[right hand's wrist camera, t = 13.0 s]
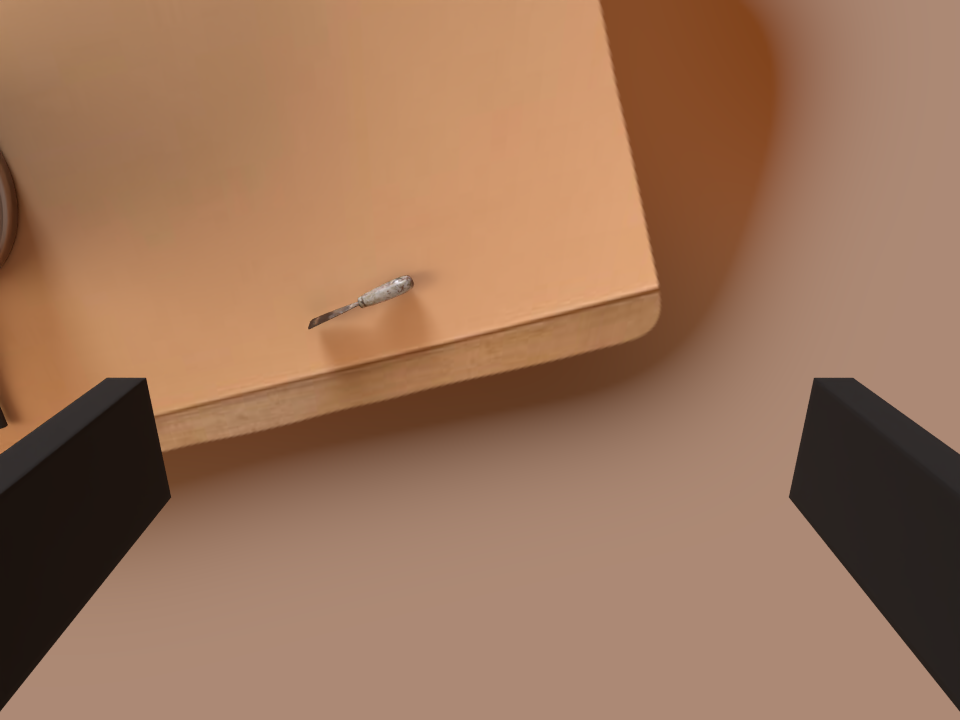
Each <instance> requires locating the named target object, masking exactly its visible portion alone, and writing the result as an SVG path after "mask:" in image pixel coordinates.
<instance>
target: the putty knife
mask: <svg viewBox="0 0 960 720" xmlns="http://www.w3.org/2000/svg"><path fill="white" fill-rule="evenodd" d="M413 285H414V283H413V280H412V279H411V277H410V276H408V275H407V276H402V277H399V278H396V279H394V280H392V281H389V282H387V283H385V284H383V285H381V286H379V287H377V288H375V289H373V290H371V291H369V292H368V293H366V294H364V295H362V296H361V297H359V298H358V302H356V303H353V304H351V305H348V306H345V307H342V308H339V309H337V310H334V311H332V312H329V313H326V314H324V315H321V316H319V317H317V318H314V319H313V320H311V321H310V324H309V327H308V329H311V328H313V327H315V326H317V325H319V324H321V323H323V322H325V321H328V320H330V319H332V318H334V317H336V316H338V315H340V314H342V313H344V312H346V311H348V310H350V309H352V308H354V307H356V306H358V305H359V306H360V307H361V308H364V307H367V306H371V305H374V304H377V303H380V302H383V301H386V300H389V299H391V298H394V297H396V296H399V295H401V294H403V293H405V292H407V291H409V290H410V289H412V288H413Z"/></svg>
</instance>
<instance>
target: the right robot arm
mask: <svg viewBox="0 0 960 720" xmlns="http://www.w3.org/2000/svg"><path fill="white" fill-rule="evenodd" d="M17 223H18V206H17V197H16V192H15V187H14V183H13V180H12V177H11V174H10V171H9V169H8V166H7V164H6V161H5V159H4V157H3V155H2V153H1V151H0V268H1V267H2V265H3V264H4V262H5V261H6V259H7V258H8V255H9V253H10V251H11V249H12V246H13V243H14V240H15V236H16V231H17ZM7 425H8V424H7V422H6V420H5V417H4V415H3V412H2V410H1V408H0V429H1V428H4V427H6V426H7ZM170 498H171V495H170V490H169V485H168V480H167V476H166V471H165V466H164V461H163V457H162V452H161V447H160V442H159V437H158V433H157V428H156V423H155V418H154V414H153V409H152V404H151V399H150V395H149V390H148V385H147V380H146V378H106V379H105V380H103V381H102V382H101V383H99V384H98V385H96V386H95V387H94V388H92V389H91V390H89V391H88V392H87V393H85V394H84V395H82V396H81V397H80V398H78V399H77V400H75V401H74V402H73V403H71V404H70V405H68V406H67V407H66V408H64V409H63V410H62V411H60V412H59V413H57V414H56V415H55V416H53V417H52V418H50V419H49V420H48V421H46V422H45V423H43V424H42V425H41V426H39V427H38V428H36V429H35V430H34V431H32V432H31V433H29V434H28V435H27V436H25V437H24V438H22V439H21V440H20V441H18V442H17V443H16V444H14V445H13V446H11V447H10V448H9V449H7V450H6V451H4V452H3V453H2V454H0V711H1V710H2V708H3V707H4V706H5V705H6V703H7V702H8V701H9V700H10V698H11V697H12V696H13V695H14V693H15V692H16V691H17V690H18V688H19V687H20V686H21V685H22V683H23V682H24V681H25V680H26V678H27V677H28V676H29V675H30V673H31V672H32V671H33V670H34V668H35V667H36V666H37V665H38V663H39V662H40V661H41V660H42V658H43V657H44V656H45V655H46V653H47V652H48V651H49V650H50V648H51V647H52V646H53V645H54V643H55V642H56V641H57V639H58V638H59V637H60V636H61V635H62V633H63V632H64V631H65V630H66V628H67V627H68V626H69V625H70V623H71V622H72V621H73V619H74V618H75V617H76V616H77V614H78V613H79V612H80V611H81V609H82V608H83V607H84V606H85V604H86V603H87V602H88V601H89V599H90V598H91V597H92V596H93V594H94V593H95V592H96V591H97V589H98V588H99V587H100V586H101V584H102V583H103V582H104V581H105V579H106V578H107V577H108V576H109V574H110V573H111V572H112V571H113V569H114V568H115V567H116V566H117V564H118V563H119V562H120V561H121V559H122V558H123V557H124V556H125V554H126V553H127V552H128V550H129V549H130V548H131V547H132V546H133V544H134V543H135V542H136V541H137V539H138V538H139V537H140V536H141V534H142V533H143V532H144V531H145V529H146V528H147V527H148V525H149V524H150V523H151V522H152V521H153V519H154V518H155V517H156V516H157V514H158V513H159V512H160V511H161V509H162V508H163V507H164V506H165V504H166V503H167V502H168V500H169V499H170ZM789 498H790V499H791V500H792V502H793V503H794V504H795V506H796V507H797V508H798V509H799V511H800V512H801V513H802V514H803V516H804V517H805V518H806V519H807V521H808V522H809V523H810V524H811V525H812V527H813V528H814V529H815V531H816V532H817V533H818V534H819V536H820V537H821V538H822V539H823V541H824V542H825V543H826V544H827V546H828V547H829V548H830V549H831V551H832V552H833V553H834V554H835V556H836V557H837V558H838V559H839V561H840V562H841V563H842V564H843V566H844V567H845V568H846V569H847V571H848V572H849V573H850V574H851V576H852V577H853V578H854V579H855V581H856V582H857V583H858V584H859V586H860V587H861V588H862V589H863V591H864V592H865V593H866V594H867V596H868V597H869V598H870V599H871V601H872V602H873V603H874V604H875V606H876V607H877V608H878V609H879V611H880V612H881V613H882V614H883V616H884V617H885V618H886V619H887V621H888V622H889V623H890V625H891V626H892V627H893V628H894V630H895V631H896V632H897V633H898V635H899V636H900V637H901V638H902V640H903V641H904V642H905V643H906V645H907V646H908V647H909V648H910V650H911V651H912V652H913V653H914V655H915V656H916V657H917V658H918V660H919V661H920V662H921V663H922V665H923V666H924V667H925V668H926V670H927V671H928V672H929V673H930V675H931V676H932V677H933V678H934V680H935V681H936V682H937V683H938V685H939V686H940V687H941V688H942V690H943V691H944V692H945V693H946V695H947V696H948V697H949V698H950V700H951V701H952V702H953V703H954V705H955V706H956V707H957V708H958V710H959V711H960V454H958V453H957V452H956V451H954V450H953V449H951V448H950V447H949V446H947V445H946V444H944V443H943V442H942V441H940V440H939V439H938V438H936V437H935V436H933V435H932V434H931V433H929V432H928V431H926V430H925V429H923V428H922V427H921V426H919V425H918V424H917V423H915V422H914V421H912V420H911V419H910V418H908V417H907V416H905V415H904V414H903V413H901V412H900V411H898V410H897V409H896V408H894V407H893V406H892V405H890V404H889V403H887V402H886V401H885V400H883V399H882V398H880V397H879V396H878V395H876V394H875V393H873V392H872V391H871V390H869V389H868V388H866V387H865V386H864V385H862V384H861V383H859V382H858V381H857V380H855V379H854V378H814V380H813V385H812V390H811V395H810V400H809V404H808V409H807V414H806V419H805V423H804V428H803V433H802V438H801V442H800V447H799V452H798V457H797V461H796V466H795V471H794V476H793V480H792V485H791V490H790V495H789Z"/></svg>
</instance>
